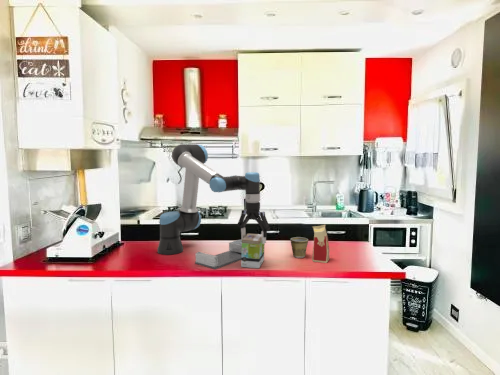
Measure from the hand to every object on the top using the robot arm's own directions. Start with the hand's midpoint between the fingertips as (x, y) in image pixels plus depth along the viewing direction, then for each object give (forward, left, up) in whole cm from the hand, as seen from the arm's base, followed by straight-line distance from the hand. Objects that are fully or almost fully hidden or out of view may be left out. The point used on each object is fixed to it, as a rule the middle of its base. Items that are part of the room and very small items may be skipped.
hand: (253, 241), depth 186 cm
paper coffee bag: (+25, +28, -12) cm, 39 cm away
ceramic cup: (+12, +28, -12) cm, 33 cm away
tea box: (0, 0, -12) cm, 12 cm away
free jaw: (-17, +13, -10) cm, 24 cm away
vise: (-17, 0, -12) cm, 21 cm away
